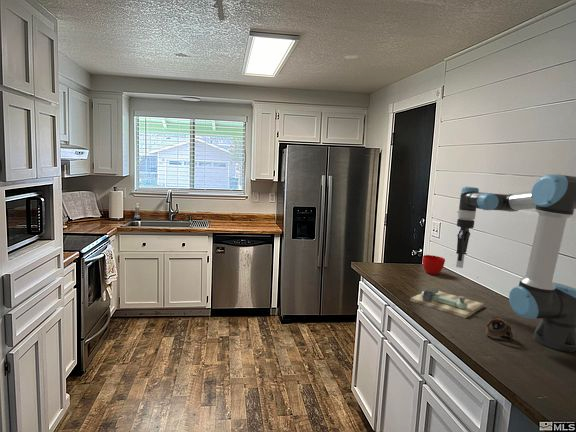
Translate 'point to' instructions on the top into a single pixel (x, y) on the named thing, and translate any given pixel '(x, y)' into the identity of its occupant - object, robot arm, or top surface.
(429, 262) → the ceramic cup
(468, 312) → the base board
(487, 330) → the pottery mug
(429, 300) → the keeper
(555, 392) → the top surface
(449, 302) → the link
